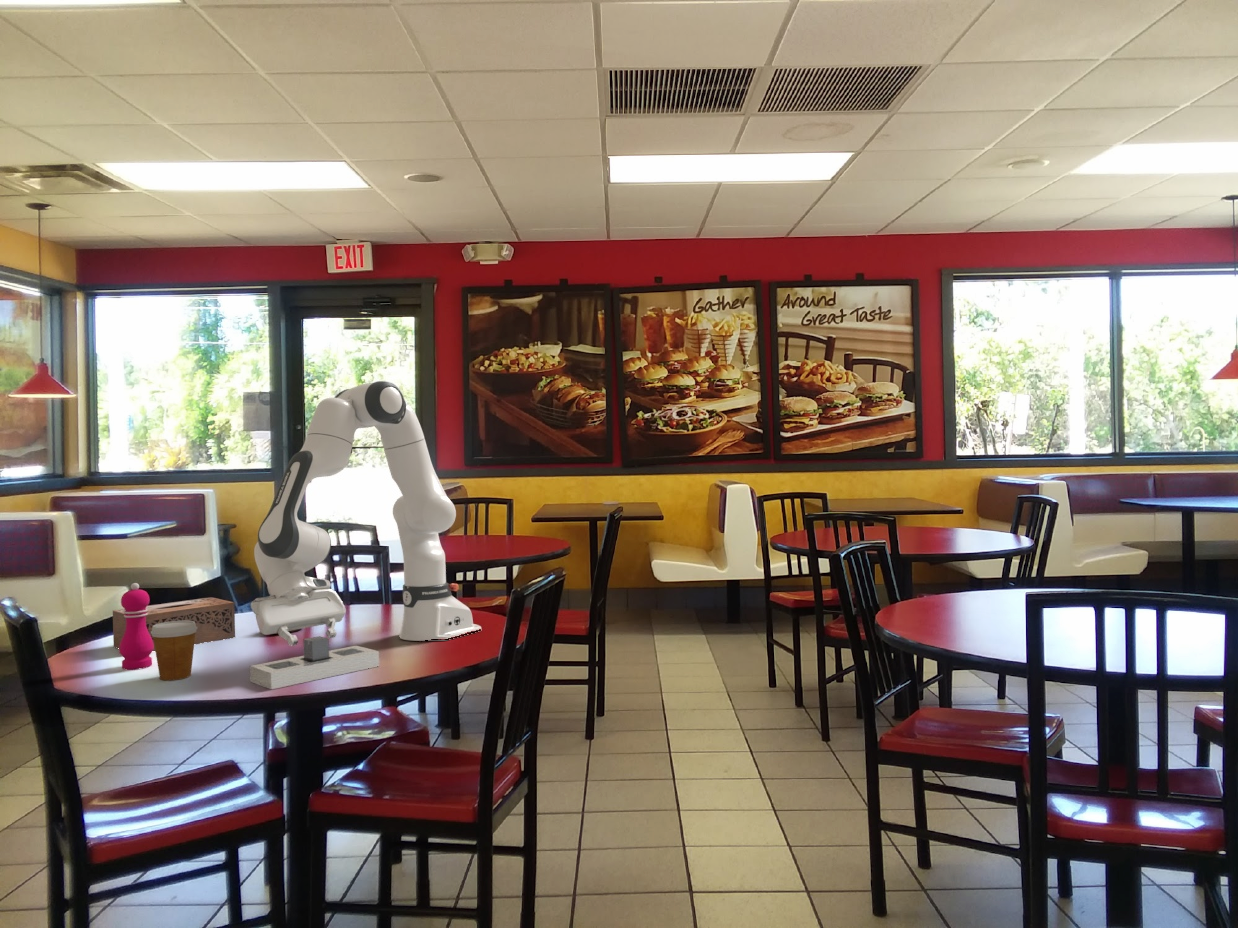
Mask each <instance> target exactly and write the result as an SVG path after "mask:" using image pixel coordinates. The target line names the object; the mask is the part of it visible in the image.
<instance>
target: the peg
mask: <svg viewBox="0 0 1238 928" xmlns="http://www.w3.org/2000/svg"><path fill="white" fill-rule="evenodd" d="M302 640H303V656H304V661H307V662H316V661H321V660H326V659H329V651H330V645H329V644H330V641H329V640H330V638H328V637H325V636H320V635H319V636H313V637H309V638H308V637H307V638H304V639H302Z"/></svg>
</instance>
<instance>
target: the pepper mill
mask: <svg viewBox="0 0 1238 928" xmlns="http://www.w3.org/2000/svg"><path fill="white" fill-rule="evenodd" d="M130 588H131V589H130V590H127V591H126V592H125V593H123V594H122V596H121V599H120V604H121V607H122V608H123V609H125V610H126V611H124V617H126V629H125V633H124V636H123V638H122V640H121V643H120V648H119V649H118V650H119V652H118V653H119V654H120V656H122V657H123V659H122V660H121V667H122V669H123V670H126V669H127V670H133V669H134V670H140V669H139V668H142V669H145V668H146V667H147V668H149V667H152V665H153V658H152V656H150V655H151V654H152V653H153V652H152V651H153V649H154V645H153V641H152V638H151V636H150V634H149V632H148V630H147V627H146V615H147V614H148V613H147V609H146V607H147V606H149V605H150V603H151V602H150V595H149V594H148V592H147V590H146V591H145V590H143V589H139V588H140V585H139V583H137V582H134V583H131V585H130ZM147 668H146V669H147Z"/></svg>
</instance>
